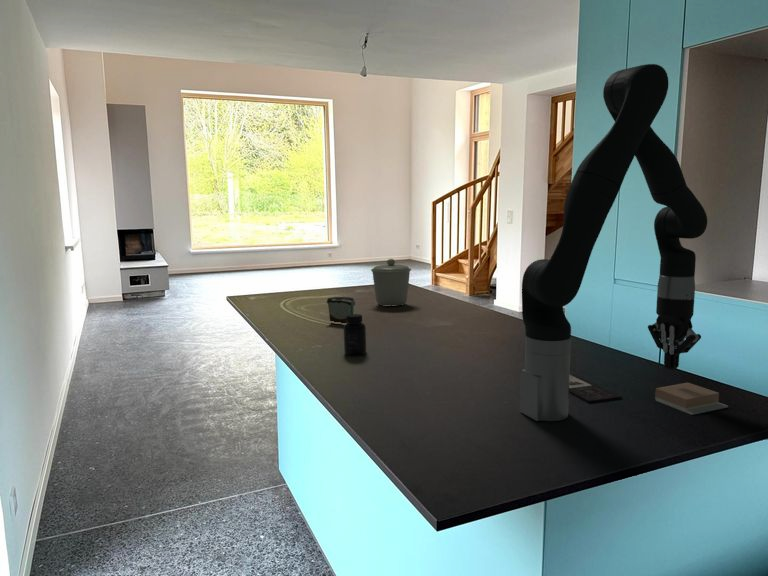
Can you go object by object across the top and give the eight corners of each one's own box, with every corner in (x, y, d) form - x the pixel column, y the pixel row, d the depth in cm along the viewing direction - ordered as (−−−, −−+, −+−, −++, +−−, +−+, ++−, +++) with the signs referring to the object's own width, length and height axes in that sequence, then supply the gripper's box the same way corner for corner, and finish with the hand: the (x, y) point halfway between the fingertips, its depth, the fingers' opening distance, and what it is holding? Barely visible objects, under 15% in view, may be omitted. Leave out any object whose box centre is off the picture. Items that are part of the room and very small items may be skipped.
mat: (691, 414, 117) (691, 413, 117) (655, 400, 126) (655, 399, 126) (728, 407, 121) (728, 405, 121) (690, 393, 130) (690, 392, 129)
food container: (362, 323, 213) (361, 298, 211) (353, 326, 208) (352, 300, 206) (336, 320, 219) (336, 295, 218) (327, 323, 214) (326, 298, 213)
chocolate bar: (588, 400, 125) (544, 377, 142) (588, 405, 125) (543, 381, 142) (621, 396, 127) (574, 374, 144) (621, 400, 127) (574, 377, 144)
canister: (368, 308, 243) (367, 261, 240) (375, 301, 261) (374, 257, 257) (409, 309, 240) (408, 261, 237) (413, 301, 258) (413, 256, 254)
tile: (655, 398, 126) (685, 410, 119) (655, 388, 126) (686, 399, 119) (687, 392, 130) (718, 403, 122) (687, 382, 129) (719, 392, 122)
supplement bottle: (371, 353, 170) (370, 315, 169) (355, 357, 165) (354, 318, 164) (355, 349, 175) (354, 312, 173) (339, 353, 170) (338, 315, 168)
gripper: (639, 292, 130) (636, 363, 132) (688, 301, 118) (683, 379, 120) (663, 289, 132) (659, 359, 135) (714, 298, 120) (708, 374, 123)
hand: (671, 368), depth 128 cm, fingers closed
